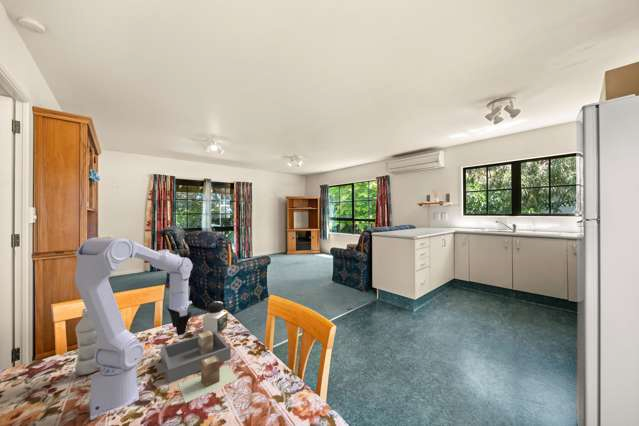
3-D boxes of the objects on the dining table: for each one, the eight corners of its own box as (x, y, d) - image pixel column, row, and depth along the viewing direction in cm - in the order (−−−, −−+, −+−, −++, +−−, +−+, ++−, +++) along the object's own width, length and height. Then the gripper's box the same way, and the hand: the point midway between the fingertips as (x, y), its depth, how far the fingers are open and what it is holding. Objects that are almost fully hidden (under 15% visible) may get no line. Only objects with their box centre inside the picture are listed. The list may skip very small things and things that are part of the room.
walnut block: (204, 387, 67) (205, 366, 67) (201, 380, 70) (201, 359, 70) (219, 381, 70) (219, 360, 70) (215, 374, 73) (215, 354, 73)
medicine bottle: (217, 335, 98) (217, 306, 99) (202, 334, 100) (202, 305, 100) (227, 327, 105) (227, 300, 106) (213, 326, 107) (213, 299, 107)
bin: (168, 385, 69) (168, 369, 69) (160, 360, 81) (160, 347, 81) (230, 360, 81) (230, 347, 81) (215, 342, 93) (215, 330, 93)
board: (185, 405, 62) (185, 402, 62) (178, 386, 69) (178, 384, 69) (238, 380, 71) (238, 378, 71) (227, 366, 78) (227, 364, 78)
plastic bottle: (105, 371, 76) (106, 308, 76) (74, 381, 71) (75, 314, 71) (103, 362, 80) (103, 303, 81) (74, 372, 75) (75, 308, 76)
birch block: (201, 355, 83) (201, 338, 83) (198, 350, 86) (198, 333, 86) (213, 351, 86) (213, 334, 86) (209, 346, 89) (209, 330, 89)
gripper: (196, 294, 81) (196, 334, 80) (187, 284, 92) (186, 320, 91) (172, 298, 76) (172, 341, 76) (165, 288, 87) (165, 325, 87)
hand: (178, 330), depth 83 cm, fingers open, 7 cm apart
